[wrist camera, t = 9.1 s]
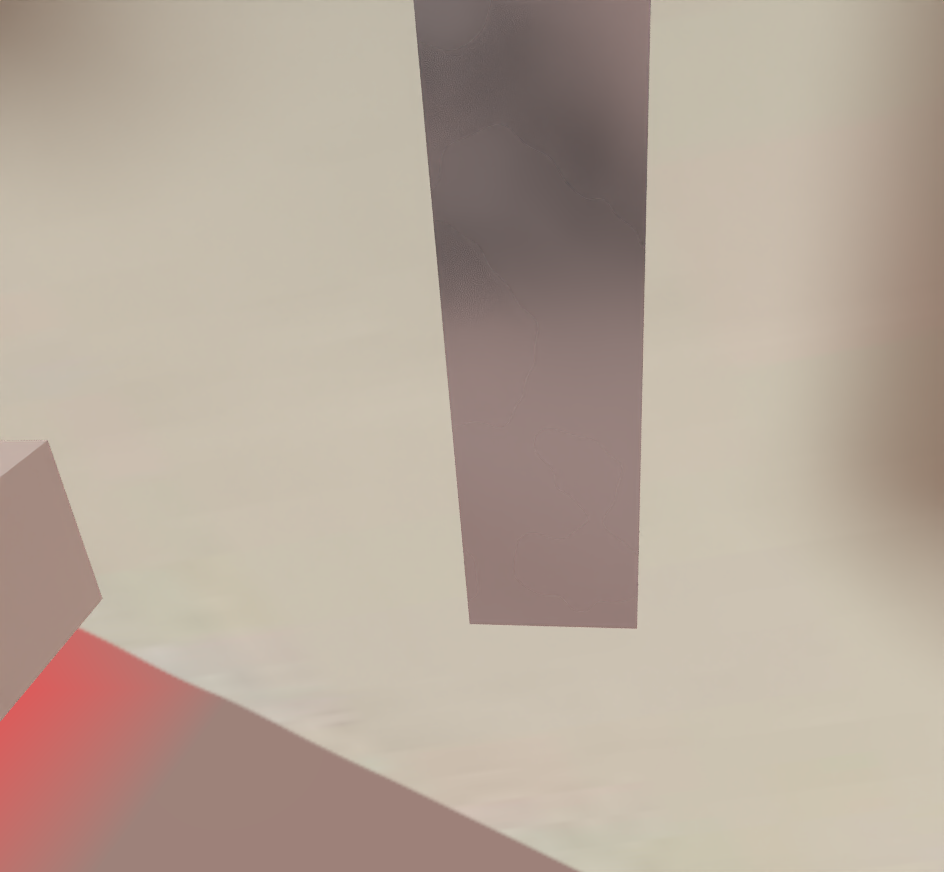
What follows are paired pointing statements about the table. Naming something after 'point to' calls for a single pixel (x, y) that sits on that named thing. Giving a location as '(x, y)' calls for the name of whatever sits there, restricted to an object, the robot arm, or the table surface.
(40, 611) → the robot arm
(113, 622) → the table surface
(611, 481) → the shaft
